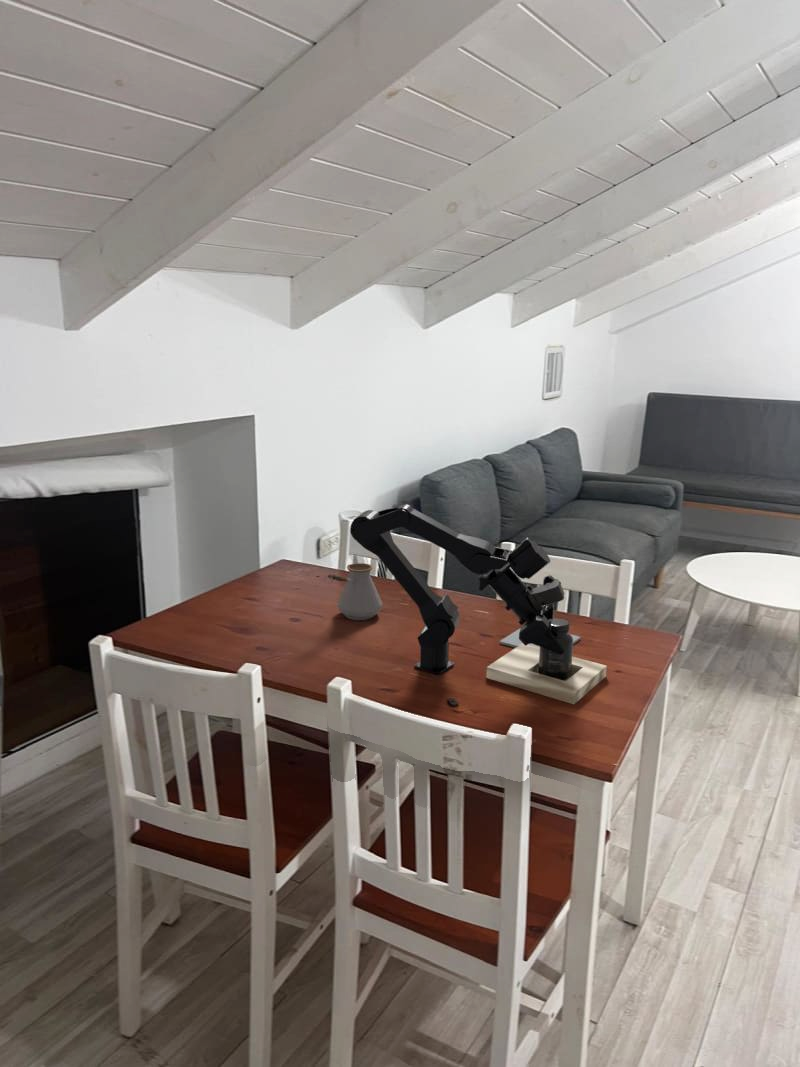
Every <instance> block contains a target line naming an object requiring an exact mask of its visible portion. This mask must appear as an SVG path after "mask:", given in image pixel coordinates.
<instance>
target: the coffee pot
mask: <svg viewBox="0 0 800 1067" xmlns="http://www.w3.org/2000/svg"><path fill="white" fill-rule="evenodd" d="M346 568H347V569H346V570H348V573H349V575H348V578H346V577H344V576H341V575H335V574H328V575H326V576H325V577H324V579H323V581H324V583H326V584H331V583H332V582H333V580H335V581H338V582H345V585H344V588H343V589H342V593H341V594H340V597H339V599H338V602H337V608H338V610H339V612H340V613H342V614H343V616H345V617H346V619H350V620H355V621H365V620H370V619H372V618H375V616H376V615H377V614H379V612H381V609H382V607H383V601H382V600H381V597H380V594H379V592H378V591H377V588H376V586H375V583H374V580H373V579H372V577H371V571H372V570H373V565H371V564H369V563H363V562H359V563H357V562H356V563H351V564H347V565H346ZM326 578H329V579H331V581H330V582H327V581H326Z"/></svg>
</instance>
